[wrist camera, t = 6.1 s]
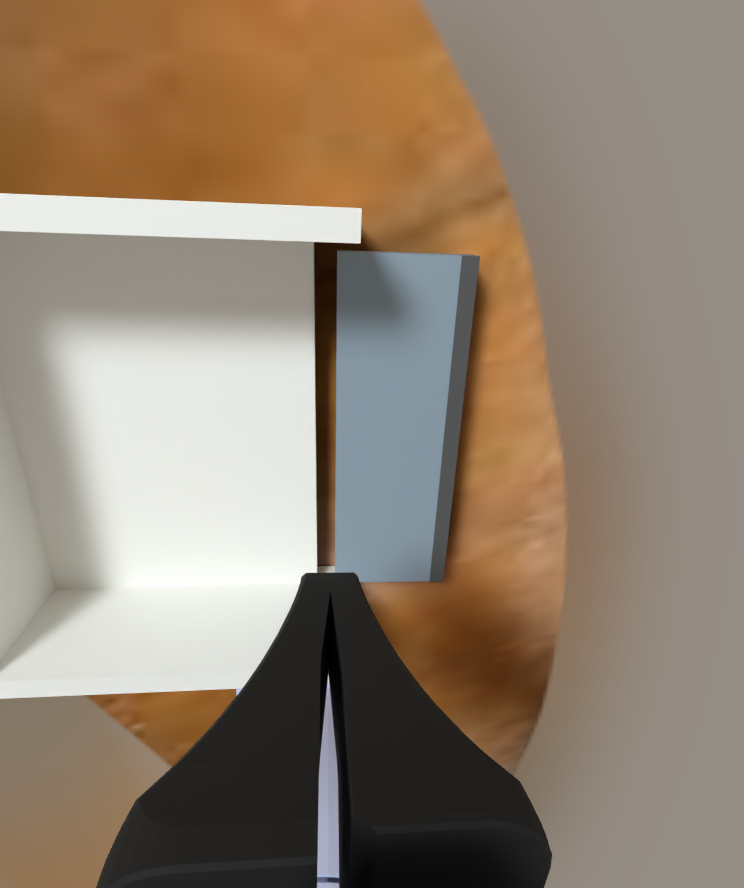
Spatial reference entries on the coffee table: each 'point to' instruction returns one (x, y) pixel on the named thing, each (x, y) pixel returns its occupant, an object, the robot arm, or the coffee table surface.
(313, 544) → the white cubby shelf
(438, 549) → the door panel
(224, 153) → the coffee table surface
